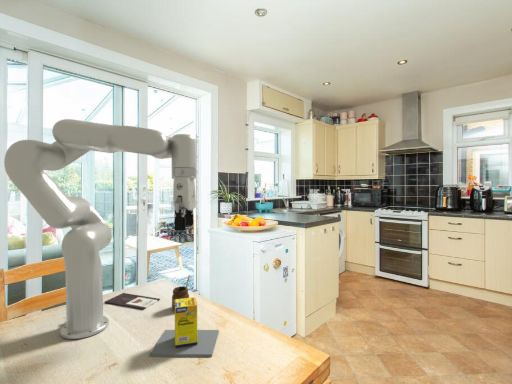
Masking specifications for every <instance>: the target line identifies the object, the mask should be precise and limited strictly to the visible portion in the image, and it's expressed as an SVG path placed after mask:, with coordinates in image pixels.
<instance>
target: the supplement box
mask: <svg viewBox="0 0 512 384" xmlns="http://www.w3.org/2000/svg"><path fill="white" fill-rule="evenodd" d="M174 330H175V348H179V347H185V346H191V345H197V330H198V303H197V298H196V296H193V297H189V298H184V299H175V311H174Z"/></svg>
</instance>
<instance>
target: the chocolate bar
mask: <svg viewBox="0 0 512 384" xmlns="http://www.w3.org/2000/svg"><path fill="white" fill-rule="evenodd" d="M159 300H160V301H161V298H159V297H158V298H155V297H150V296H145V295H139V294H138V295H137V294H133V293H126V292H122V293H120V294H119V295H115V296H113V297H111V298H110V299H107V300H105V301H103V303H104V304H108V305H113V306H117V307H118V306H119V307H124V308H128V309H129V308H130V309H136V310H139V311H144V310H146V309H147V308H150V307H151V306H153V305H154V304H156V303H159V302H160V301H159Z"/></svg>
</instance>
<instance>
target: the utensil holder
mask: <svg viewBox="0 0 512 384" xmlns="http://www.w3.org/2000/svg"><path fill="white" fill-rule="evenodd" d="M190 277H191V274H189V275H188V277H187V280H186V283H185V284H186V286H179V283H176V282H179V278H178V277H177V276H176V277H173V278H172V279H171V281H172V284H173V282H174V285H177V287H176V286H174V285H172V286H173V290H172V296H171V308H172V310H173V311H174V312H175V299H184V298H190V293H189V288H188V285H189V281H190ZM174 280H176V282H175V281H174Z"/></svg>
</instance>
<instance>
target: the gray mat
mask: <svg viewBox="0 0 512 384" xmlns="http://www.w3.org/2000/svg"><path fill="white" fill-rule="evenodd" d="M219 333H220V331H219V329H197V345H191V346H185V347H179V348H175V329H164V331H163V332H162V335H161V336H160V337H159V338H158V340H157V342H156V344H155V345H154V346H153V348H152V349H151V351H150V352H149V357H171V358H172V357H177V358H178V357H179V358H180V357H184V358H185V357H187V358H189V357H191V358H195V357H199V358H200V357H201V358H202V357H203V358H204V357H210V358H211V357H213V354H214V351H215V346H216V344H217V343H216V342H217V339H218V337H219Z"/></svg>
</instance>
